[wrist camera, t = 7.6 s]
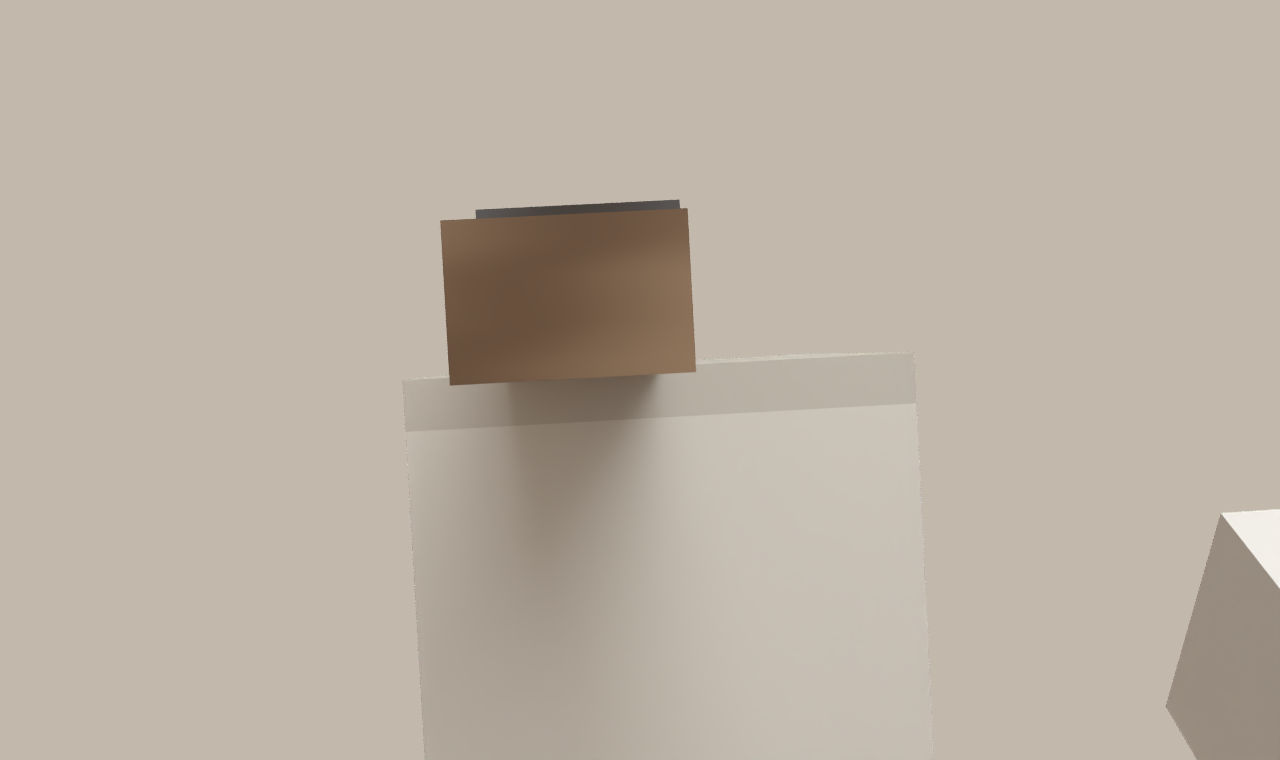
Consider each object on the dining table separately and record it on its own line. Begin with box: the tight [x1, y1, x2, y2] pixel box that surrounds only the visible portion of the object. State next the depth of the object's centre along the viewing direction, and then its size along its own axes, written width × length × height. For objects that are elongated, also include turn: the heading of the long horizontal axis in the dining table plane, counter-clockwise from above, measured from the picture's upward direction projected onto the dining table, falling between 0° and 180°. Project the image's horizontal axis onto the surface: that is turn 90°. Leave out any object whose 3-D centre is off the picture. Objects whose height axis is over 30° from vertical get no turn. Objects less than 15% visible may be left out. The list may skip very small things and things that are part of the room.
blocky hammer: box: [440, 200, 696, 386], centre depth 24 cm, size 5×20×4 cm, turn 2°
